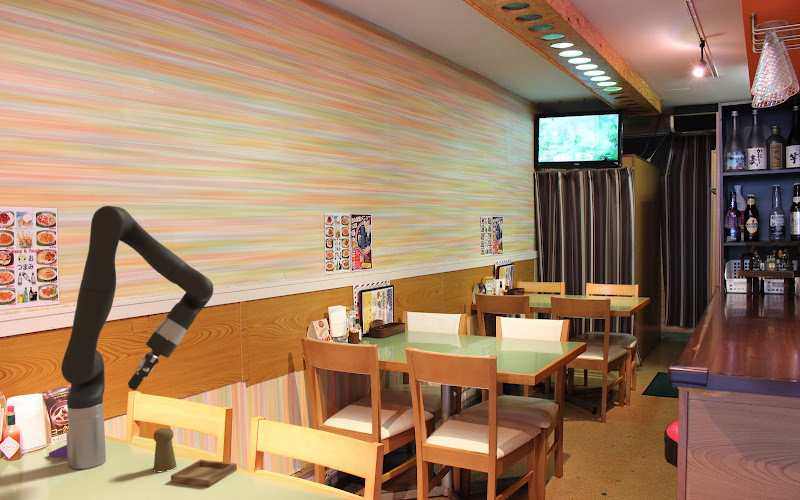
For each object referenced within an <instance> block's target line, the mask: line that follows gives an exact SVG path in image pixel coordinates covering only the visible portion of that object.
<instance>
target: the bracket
mask: <svg viewBox="0 0 800 500" xmlns="http://www.w3.org/2000/svg"><path fill="white" fill-rule="evenodd" d="M48 457H50V458H51V457H52V458H62V459H68V456H67V444H65V445H63V446H60V447H58V448H56V449H54V450H52V451H50V452H48Z"/></svg>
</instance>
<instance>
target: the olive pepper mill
mask: <svg viewBox="0 0 800 500" xmlns="http://www.w3.org/2000/svg"><path fill="white" fill-rule="evenodd" d="M173 439H174V431H173V430H172V428H170V427H169V428H168V427H163V428H158V429H156V430H155V431H154V433H153V440H154V442H155V450H154V451H155V452H154V462H153V471H154V470H155V471H167V470H171V469H173V468H175V467H176V468H177V461H176V456H175V451H174V446H173V441H172V440H173ZM176 468H175V469H176ZM173 470H174V469H173ZM155 471H154V472H155ZM171 471H172V470H171ZM167 472H168V471H167Z"/></svg>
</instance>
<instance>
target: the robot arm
mask: <svg viewBox="0 0 800 500" xmlns="http://www.w3.org/2000/svg"><path fill="white" fill-rule="evenodd" d="M90 224H91V225H90V235H89V245H88V252H87V257H86V260H85V265H84V269H83V273H82V278H81V281H80V286H79V290H78V294H77V301H76V307H75V312H74V317H73V322H72V327H71V328H72V329H71V333H70V337H69V341H68V344H67V347H66V350H65V353H64V356H63V357H62V358H63V359H62V362H61V367H60V368H61V375H62V377H63V379H64V380H65V381H66V382H68V383H69V384H70V391H69V394H68V395H67V399H66V404H67V405H66V407H67V423H68V424H67V425H68V426H67V427H68V431H67V432H66V434H65V435H66V445H67V456H68V458H67V466H69V467H70V468H72V469H73V470H74V469H75V470H83V469H91V468H94V467H98V466H101V465H103V464H104V463H106V461H107V454H106V453H107V452H106V432H105V415H104V393H105V389H106V388H105V381H106V380H105V377H106V376H105V362H104V358H103V355H102V354H101V353H100V351H99V350H97V347H98V342H99V337H100V335H101V332H102V329H103V327H104V326H105V324H106V322H107V320H108V317H109V315H110V312H111V309H112V306H113V303H114V299H115V293H116V289H117V272H116V254H117V250H118V245H119V243H120V242H122V243H123V244H125V245H127V246H128V247H129V248H132V249H133V250H134V251H135V252H136V253H137V254H138V255H140V256H141V257H142V258H143V260H144V261H146V263H147V264H148V265H149V266H150V267H151V268H152V269H153V270H155V271H156V272H157V273H158V274H160V275H161V276H162V277H164V278H165V279H166V280H168V282H170V283H172V284H175V285H176V286H178V287H179V288H180V289H182V290H183V291H184V292H185V293H184V295H182V298H180V300H179V302H177V303H176V304H174V305H173V307H172V308H171V310H170V311H169V312H168V314H166V316H165V317H164V319H163V320H162V321H161V322H160V323H159V325H158V326H157V328H156V329H155V330H154V331H153V333H152V334H151V336H150V337H149V338H148V339H147V341H146V343H145V346H146V347H148V348H149V349H151V351H149V352H147V353H145V355H144V356H143V357H142V360H141V361H140V362H139V364H137V367H136V369H135V372H134V374H132V376H131V377H130V379H129V381H128V382H127V386H128V388H129V389H131V390H132V391H136V390H138V388H139V386H140V385H141V383H142V382H143V381H144V379H146V378H147V377H149V375H150V374H151V373H152V371H153V370H154V368H155V367H156V366H157V365H158V364H159V361H160V358H159V357H160V356H162V357H164V358H166V359H169V358H170V357H171V355H172V353H174V351H175V349H177V347H178V346H179V344H180V343H181V341H182V340H183V338H184V336H185V334H186V332H188V330H189V328H190V327H191V325H192V324H193V323H194V321H195V320H196V318H197V316H198V315H199V313H200V312H202V310H203V309H204V308H205V306H206V305H207V304H208V302H209V301H210V300H211V298H212V296H213V294H214V285H213V282H212V281H211V279H209V278H208V277H207V276H206V275H204V274H203V273H201V272H200V271H199V270H197V269H195V268H193V267H192V266H190V265H189V264H188V263H187V262H186V261H184V260H183V259H182V258H181V257H179V256H178V255H177V254H175V253H174V252H173V251H171V250H170V249H169V248H167V247H166V246H164V244H162V243H160V242H159V241H158V240H156V238H154V237H153V236H152V235H150V234H149V233H148V232H147V231H146V230H145V229H144V228H143V227H142V226H141V225H140V224H139V222H137V220H136V219H135V218H134V217H133V216H132V215H131V214H130V213H129V212H128V211H127V210H126V209H125V208H122V207H120V206H113V205H104V206H101V207H100V208H98V209H97V210H96V211H95V212H94V213H93V216H92V218H91V222H90Z"/></svg>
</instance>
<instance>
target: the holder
mask: <svg viewBox="0 0 800 500" xmlns="http://www.w3.org/2000/svg"><path fill="white" fill-rule="evenodd" d="M237 466H238V465H237V463H235V462H224V461H217V460H216V461H215V460H208V459H207V460H206V459H199V460H197V461H196V462H194V463H192V464H190V465H188V466H186V467H185V468H183V469H181V470H179V471H177V472H175V473H174V474H171V475H170V482H171V483H173V484H179V485H180V484H181V485H189V486H196V487H203V488H205V487H206V488H210V487H212V486H213V485H215V484H216V483H218V482H220V481H221V480H223V479H225V478H227V477H228V476H230V475H231V474H233V473H235V472H236V471H237V470H238V467H237Z"/></svg>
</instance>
